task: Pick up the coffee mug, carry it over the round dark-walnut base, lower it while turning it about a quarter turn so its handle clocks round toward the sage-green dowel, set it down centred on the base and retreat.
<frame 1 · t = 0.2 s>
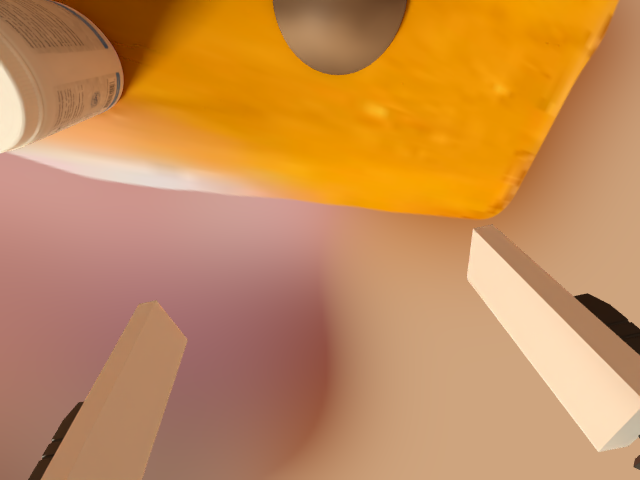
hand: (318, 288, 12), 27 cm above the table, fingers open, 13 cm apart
supplement tub: (76, 62, 29), on the table
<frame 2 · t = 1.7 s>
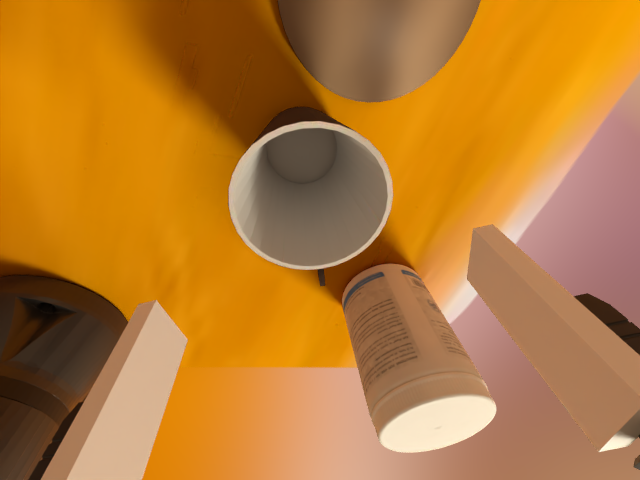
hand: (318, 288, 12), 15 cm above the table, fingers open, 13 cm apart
supplement tub: (380, 289, 34), on the table
coffee mug: (296, 165, 24), on the table
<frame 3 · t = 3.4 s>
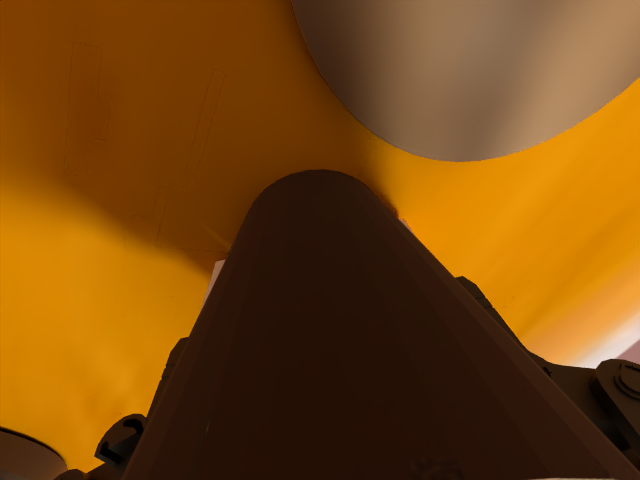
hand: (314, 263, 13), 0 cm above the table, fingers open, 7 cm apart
coffee mug: (306, 259, 14), on the table, touching gripper
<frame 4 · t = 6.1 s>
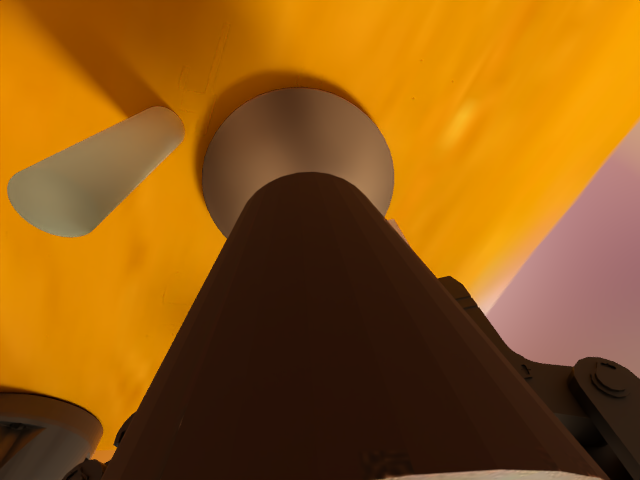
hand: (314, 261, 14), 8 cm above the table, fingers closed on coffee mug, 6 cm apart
dowel: (163, 127, 17), on the table
coffee mug: (299, 260, 14), point 8 cm above the table, touching gripper
walnut base: (300, 189, 20), on the table
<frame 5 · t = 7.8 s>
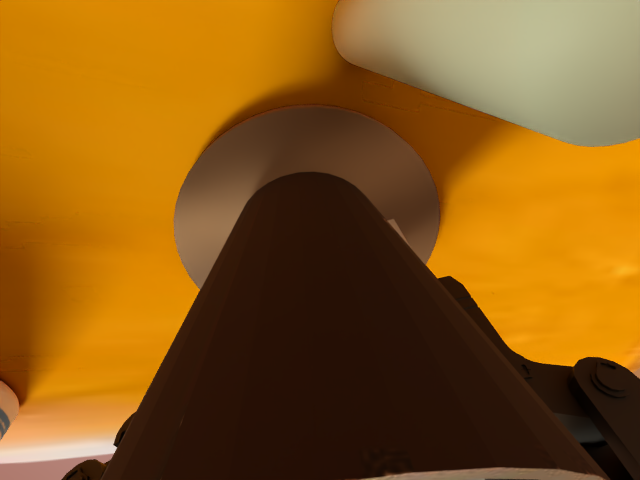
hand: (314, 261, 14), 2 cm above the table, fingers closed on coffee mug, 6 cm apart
dowel: (365, 26, 10), on the table
coffee mug: (299, 260, 14), point 1 cm above the table, touching gripper
walnut base: (311, 238, 15), on the table
when the fingers open (1 cm above the table, at t = 8.4 s): coffee mug stays where it is, resting on walnut base.
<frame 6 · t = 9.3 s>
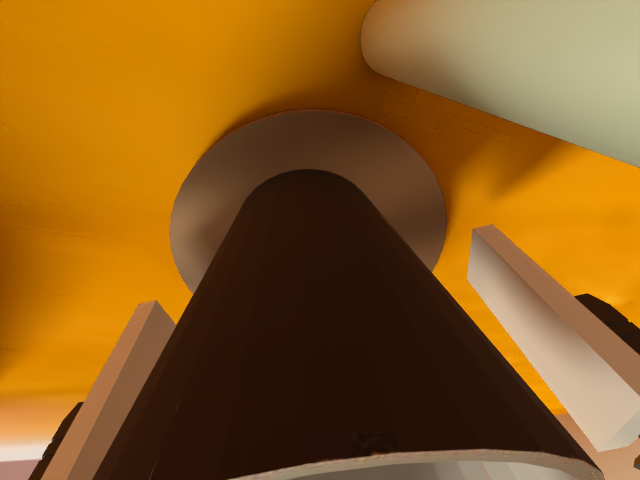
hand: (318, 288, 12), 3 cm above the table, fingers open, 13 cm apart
dowel: (394, 36, 10), on the table
coffee mug: (297, 257, 14), point 1 cm above the table, touching walnut base
walnut base: (312, 246, 15), on the table
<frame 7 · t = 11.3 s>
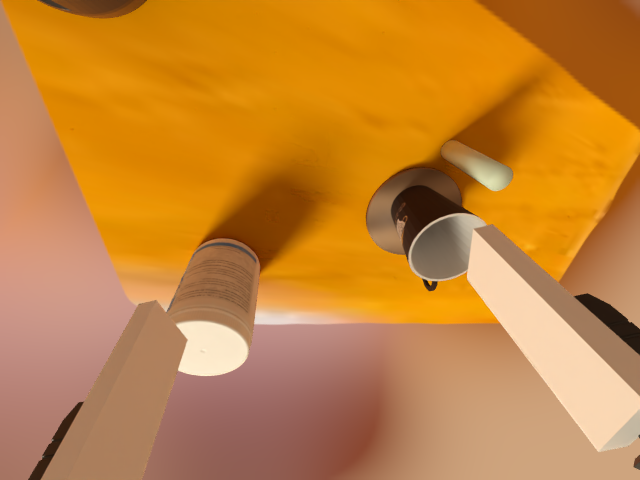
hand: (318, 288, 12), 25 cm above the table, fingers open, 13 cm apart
supplement tub: (228, 262, 42), on the table
dowel: (450, 149, 35), on the table
coffee mug: (407, 216, 39), point 1 cm above the table, touching walnut base
walnut base: (412, 213, 40), on the table
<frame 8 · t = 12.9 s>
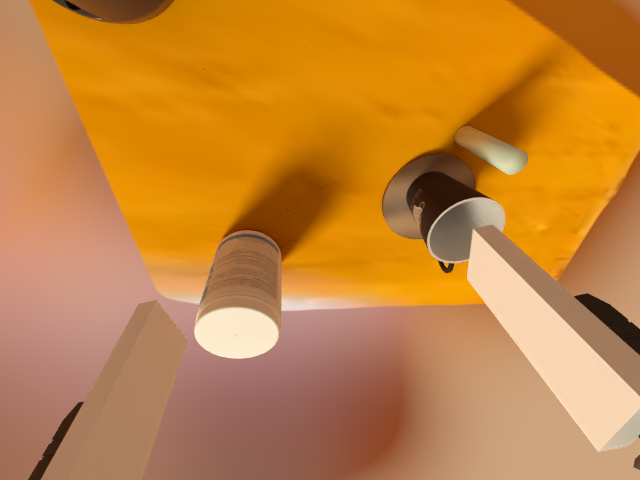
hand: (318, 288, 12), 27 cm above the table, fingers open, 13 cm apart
supplement tub: (250, 253, 44), on the table
dowel: (463, 135, 36), on the table
coffee mug: (422, 201, 41), point 1 cm above the table, touching walnut base
walnut base: (426, 198, 41), on the table
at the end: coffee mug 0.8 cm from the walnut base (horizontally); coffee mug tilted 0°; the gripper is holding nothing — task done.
